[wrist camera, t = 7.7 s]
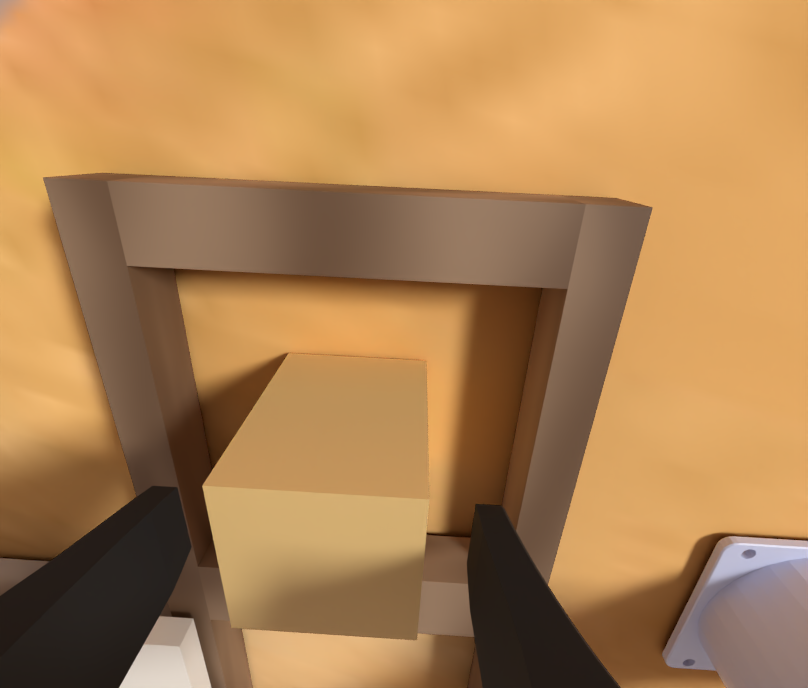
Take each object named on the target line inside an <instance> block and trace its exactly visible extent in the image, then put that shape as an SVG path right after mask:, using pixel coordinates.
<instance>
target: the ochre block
mask: <svg viewBox="0 0 808 688" xmlns="http://www.w3.org/2000/svg"><path fill="white" fill-rule="evenodd" d="M202 487H203V492H204V497H205V502H206V506H207V511H208V516H209V521H210V526H211V531H212V536H213V540H214V545H215V550H216V555H217V560H218V565H219V570H220V575H221V579H222V584H223V589H224V594H225V599H226V604H227V609H228V613H229V618H230V623H231V628H240V629H255V630H270V631H285V632H300V633H315V634H330V635H345V636H360V637H375V638H390V639H405V640H417V633H418V622H419V611H420V600H421V589H422V577H423V566H424V555H425V544H426V533H427V521H428V510H429V454H428V407H427V361H425V360H406V359H388V358H370V357H352V356H334V355H316V354H297V353H288V355H287V356H286V358H285V359H284V361H283V362H282V364H281V366H280V367H279V369H278V370H277V372H276V373H275V375H274V376H273V378H272V379H271V381H270V382H269V384H268V386H267V387H266V389H265V390H264V392H263V393H262V395H261V396H260V398H259V399H258V401H257V402H256V404H255V405H254V407H253V409H252V410H251V412H250V413H249V415H248V416H247V418H246V419H245V421H244V422H243V424H242V425H241V427H240V429H239V430H238V432H237V433H236V435H235V436H234V438H233V439H232V441H231V442H230V444H229V445H228V447H227V448H226V450H225V452H224V453H223V455H222V456H221V458H220V459H219V461H218V462H217V464H216V465H215V467H214V468H213V470H212V472H211V473H210V475H209V476H208V478H207V479H206V481H205V482H204V484H203V485H202Z"/></svg>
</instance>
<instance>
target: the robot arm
mask: <svg viewBox="0 0 808 688" xmlns="http://www.w3.org/2000/svg"><path fill="white" fill-rule="evenodd" d="M191 548H192V546H191V542H190V538H189V534H188V529H187V525H186V521H185V517H184V513H183V509H182V504H181V500H180V496H179V492H178V488H177V487H167V486H151V487H150V488H148V489H147V490H146V491H144V492H143V493H141V494H140V495H139V496H137V497H136V498H135V499H133V500H132V501H131V502H129V503H128V504H127V505H125V506H124V507H123V508H121V509H120V510H119V511H117V512H116V513H115V514H113V515H112V516H111V517H109V518H108V519H107V520H105V521H104V522H103V523H101V524H100V525H99V526H97V527H96V528H95V529H93V530H92V531H91V532H89V533H88V534H87V535H85V536H84V537H82V538H81V539H80V540H78V541H77V542H76V543H74V544H73V545H72V546H70V547H69V548H68V549H66V550H65V551H63V552H62V553H61V554H59V555H58V556H57V557H55V558H54V559H52V560H51V561H50V562H48V563H47V564H45V565H44V566H42V567H41V568H40V569H38V570H37V571H35V572H34V573H32V574H31V575H29V576H28V577H27V578H25V579H24V580H22V581H21V582H19V583H18V584H16V585H15V586H14V587H12V588H11V589H9V590H8V591H6V592H5V593H3V594H2V595H1V596H0V688H119V687H120V685H121V684H122V682H123V680H124V678H125V676H126V675H127V673H128V671H129V669H130V668H131V666H132V664H133V662H134V660H135V659H136V657H137V655H138V653H139V652H140V650H141V648H142V646H143V645H144V643H145V641H146V639H147V637H148V636H149V634H150V632H151V630H152V629H153V627H154V625H155V623H156V621H157V620H158V618H159V616H160V614H161V612H162V611H163V609H164V607H165V605H166V603H167V602H168V600H169V598H170V596H171V594H172V592H173V590H174V588H175V586H176V583H177V581H178V579H179V577H180V574H181V572H182V570H183V567H184V565H185V562H186V560H187V557H188V555H189V552H190V550H191ZM467 576H468V592H469V605H470V614H471V620H472V626H473V632H474V638H475V645H476V651H477V657H478V663H479V669H480V675H481V681H482V687H483V688H621V687H620V686H619V685H618V684H617V682H616V681H615V680H614V678H613V677H612V676H611V675H610V673H609V672H608V671H607V669H606V668H605V667H604V666H603V664H602V663H601V662H600V660H599V659H598V658H597V656H596V655H595V654H594V652H593V651H592V649H591V648H590V647H589V645H588V644H587V643H586V641H585V640H584V638H583V637H582V635H581V634H580V633H579V631H578V630H577V628H576V627H575V625H574V624H573V623H572V621H571V620H570V618H569V617H568V615H567V614H566V612H565V611H564V609H563V608H562V606H561V605H560V603H559V602H558V600H557V599H556V597H555V596H554V594H553V592H552V591H551V589H550V588H549V586H548V585H547V583H546V581H545V580H544V578H543V577H542V575H541V573H540V572H539V570H538V569H537V567H536V565H535V564H534V562H533V560H532V558H531V557H530V555H529V553H528V552H527V550H526V548H525V546H524V545H523V543H522V541H521V539H520V537H519V536H518V534H517V532H516V530H515V528H514V526H513V524H512V522H511V520H510V518H509V517H508V515H507V512H506V510H505V509H504V508H503V507H502V506H501V505H484V504H476V505H475V512H474V518H473V525H472V531H471V538H470V545H469V551H468V558H467ZM662 656H663V658H664V660H665V663H666V664H667V665H668V666H670V667H673V668H685V669H700V670H715V671H717V673H718V675H719V677H720V678H721V680H722V682H723V684H724V685H725V687H726V688H808V541H802V540H786V539H770V538H753V537H737V536H729V537H725V538H723V539H721V540H720V541H719V542H718V543H717V544H716V546H715V548H714V550H713V552H712V554H711V556H710V558H709V560H708V562H707V564H706V566H705V568H704V570H703V572H702V574H701V576H700V579H699V581H698V583H697V585H696V587H695V589H694V591H693V593H692V595H691V597H690V599H689V601H688V603H687V605H686V607H685V609H684V611H683V613H682V615H681V617H680V619H679V621H678V623H677V625H676V627H675V629H674V631H673V633H672V635H671V637H670V639H669V641H668V643H667V645H666V647H665V649H664V651H663V653H662Z"/></svg>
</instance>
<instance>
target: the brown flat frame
mask: <svg viewBox="0 0 808 688" xmlns="http://www.w3.org/2000/svg"><path fill="white" fill-rule="evenodd" d="M43 179H44V183H45V186H46V190H47V193H48V196H49V200H50V203H51V207H52V210H53V213H54V217H55V220H56V224H57V227H58V230H59V234H60V237H61V241H62V244H63V247H64V251H65V254H66V258H67V261H68V264H69V268H70V271H71V275H72V278H73V281H74V285H75V288H76V292H77V295H78V298H79V302H80V305H81V309H82V312H83V315H84V319H85V322H86V326H87V329H88V332H89V336H90V339H91V343H92V346H93V350H94V353H95V356H96V360H97V363H98V367H99V370H100V373H101V377H102V380H103V384H104V387H105V390H106V394H107V397H108V401H109V404H110V407H111V411H112V414H113V418H114V421H115V424H116V428H117V431H118V435H119V438H120V441H121V445H122V448H123V452H124V455H125V458H126V462H127V465H128V469H129V472H130V475H131V479H132V482H133V486H134V489H135V492H136V496H139V495H140V494H141V493H143V492H144V491H146V490H147V489H148V488H150V487H151V486H167V487H177V488H178V492H179V496H180V500H181V504H182V509H183V513H184V517H185V521H186V525H187V529H188V534H189V538H190V542H191V546H192V548H191V550H190V552H189V555H188V557H187V560H186V562H185V565H184V567H183V570H182V572H181V574H180V577H179V579H178V581H177V583H176V586H175V588H174V590H173V592H172V594H171V596H170V598H169V600H168V602H167V603H166V605H165V607H164V609H163V611H162V612H161V614H160V616H164V617H179V618H193V619H194V623H195V627H196V630H197V634H198V638H199V642H200V646H201V650H202V653H203V657H204V661H205V665H206V669H207V673H208V676H209V680H210V684H211V688H253V686H252V681H251V675H250V670H249V665H248V660H247V654H246V649H245V644H244V638H243V633H242V629H240V628H231V623H230V618H229V613H228V609H227V604H226V599H225V594H224V589H223V584H222V579H221V575H220V570H219V565H218V560H217V555H216V550H215V545H214V540H213V536H212V531H211V526H210V521H209V516H208V511H207V506H206V502H205V497H204V492H203V487H202V485H203V484H204V482H205V481H206V479H207V478H208V476H209V475H210V473H211V472H212V469H211V464H210V458H209V453H208V448H207V442H206V437H205V432H204V427H203V421H202V416H201V411H200V405H199V400H198V395H197V389H196V384H195V379H194V374H193V368H192V363H191V358H190V352H189V347H188V342H187V337H186V331H185V326H184V321H183V315H182V310H181V305H180V299H179V294H178V289H177V284H176V278H175V273H174V268H177V269H196V270H215V271H234V272H253V273H272V274H291V275H310V276H329V277H348V278H367V279H386V280H405V281H424V282H443V283H462V284H482V285H501V286H520V287H539V288H542V293H541V299H540V304H539V309H538V315H537V320H536V325H535V331H534V336H533V341H532V347H531V352H530V357H529V363H528V368H527V373H526V379H525V384H524V389H523V395H522V400H521V405H520V411H519V416H518V421H517V427H516V432H515V438H514V443H513V448H512V454H511V459H510V464H509V470H508V475H507V480H506V486H505V491H504V496H503V502H502V507H503V508H504V509H505V510H506V512H507V515H508V517H509V518H510V520H511V522H512V524H513V526H514V528H515V530H516V532H517V534H518V536H519V537H520V539H521V541H522V543H523V545H524V546H525V548H526V550H527V552H528V553H529V555H530V557H531V558H532V560H533V562H534V564H535V565H536V567H537V569H538V570H539V572H540V573H541V575H542V577H543V578H544V580H545V581H546V583H547V585H548V582H549V579H550V575H551V572H552V568H553V564H554V561H555V557H556V554H557V550H558V546H559V543H560V539H561V536H562V532H563V528H564V525H565V521H566V518H567V514H568V510H569V507H570V503H571V500H572V496H573V492H574V489H575V485H576V482H577V478H578V474H579V471H580V467H581V464H582V460H583V456H584V453H585V449H586V446H587V442H588V438H589V435H590V431H591V428H592V424H593V420H594V417H595V413H596V410H597V406H598V402H599V399H600V395H601V392H602V388H603V384H604V381H605V377H606V374H607V370H608V366H609V363H610V359H611V356H612V352H613V348H614V345H615V341H616V338H617V334H618V330H619V327H620V323H621V320H622V316H623V312H624V309H625V305H626V302H627V298H628V294H629V291H630V287H631V284H632V280H633V276H634V273H635V269H636V266H637V262H638V258H639V255H640V251H641V248H642V244H643V240H644V237H645V233H646V230H647V226H648V222H649V219H650V215H651V212H652V207H649V206H645V205H641V204H637V203H633V202H629V201H625V200H621V199H618V198H604V197H584V196H563V195H543V194H523V193H502V192H482V191H461V190H441V189H420V188H400V187H380V186H359V185H339V184H318V183H298V182H277V181H257V180H236V179H216V178H196V177H175V176H155V175H134V174H114V173H95V174H82V175H69V176H56V177H44V178H43ZM469 545H470V538H467V537H451V536H435V535H426V544H425V555H424V566H423V577H422V589H421V600H420V611H419V622H418V633H421V634H437V635H452V636H467V637H474V632H473V626H472V620H471V614H470V605H469V592H468V576H467V558H468V551H469ZM48 562H50V561H37V560H22V559H6V558H0V596H1V595H2V594H3V593H5V592H6V591H8V590H9V589H11V588H12V587H14V586H15V585H16V584H18V583H19V582H21V581H22V580H24V579H25V578H27V577H28V576H29V575H31V574H32V573H34V572H35V571H37V570H38V569H40V568H41V567H42V566H44V565H45V564H47V563H48ZM468 688H483V687H482V681H481V675H480V669H479V663H478V657H477V651H476V646H475V651H474V656H473V662H472V667H471V672H470V678H469V683H468Z"/></svg>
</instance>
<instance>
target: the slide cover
mask: <svg viewBox="0 0 808 688" xmlns="http://www.w3.org/2000/svg"><path fill="white" fill-rule="evenodd" d="M119 688H211V684H210V680H209V676H208V673H207V669H206V665H205V661H204V657H203V653H202V650H201V646H200V642H199V638H198V634H197V630H196V627H195V623H194V619H193V618H179V617H164V616H159V618H158V620H157V621H156V623H155V625H154V627H153V629H152V630H151V632H150V634H149V636H148V637H147V639H146V641H145V643H144V645H143V646H142V648H141V650H140V652H139V653H138V655H137V657H136V659H135V660H134V662H133V664H132V666H131V668H130V669H129V671H128V673H127V675H126V676H125V678H124V680H123V682H122V684H121V685H120V687H119Z"/></svg>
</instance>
